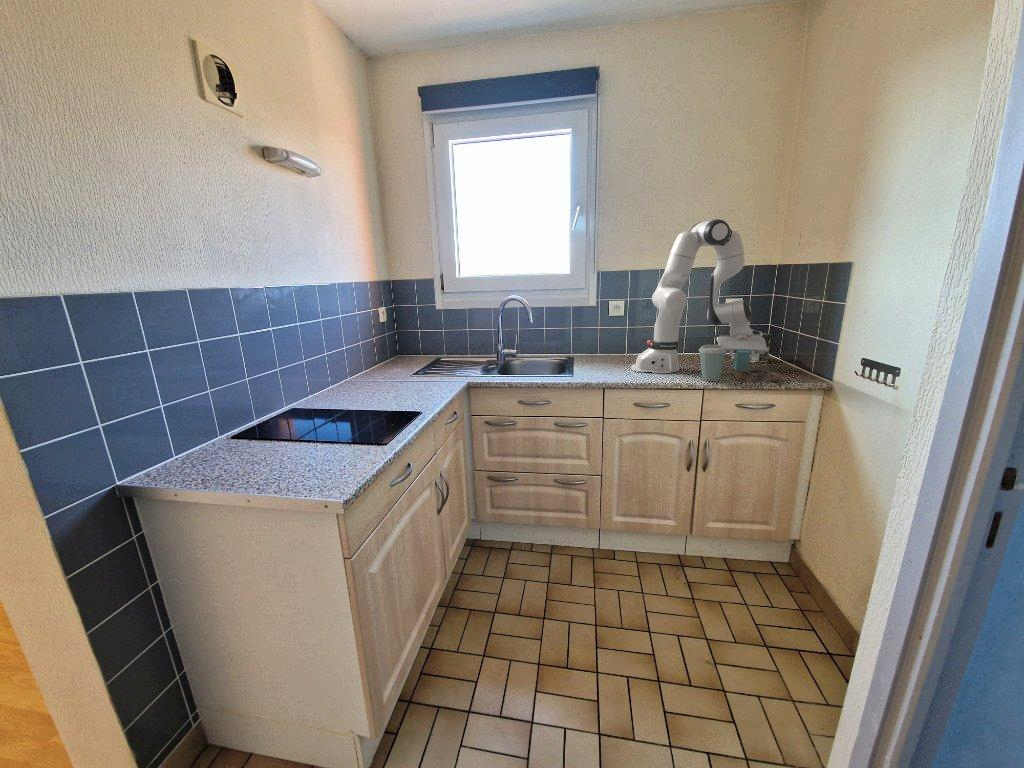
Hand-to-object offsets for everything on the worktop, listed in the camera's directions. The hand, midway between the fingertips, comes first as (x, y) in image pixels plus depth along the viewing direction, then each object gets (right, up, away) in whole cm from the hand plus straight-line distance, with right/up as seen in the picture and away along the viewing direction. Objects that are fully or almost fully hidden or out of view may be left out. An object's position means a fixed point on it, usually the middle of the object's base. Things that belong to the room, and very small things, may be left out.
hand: (742, 359), depth 189 cm
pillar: (0, -5, +2) cm, 5 cm away
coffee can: (+19, +1, +22) cm, 29 cm away
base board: (+1, -9, -11) cm, 14 cm away
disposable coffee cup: (-20, -10, -11) cm, 25 cm away
